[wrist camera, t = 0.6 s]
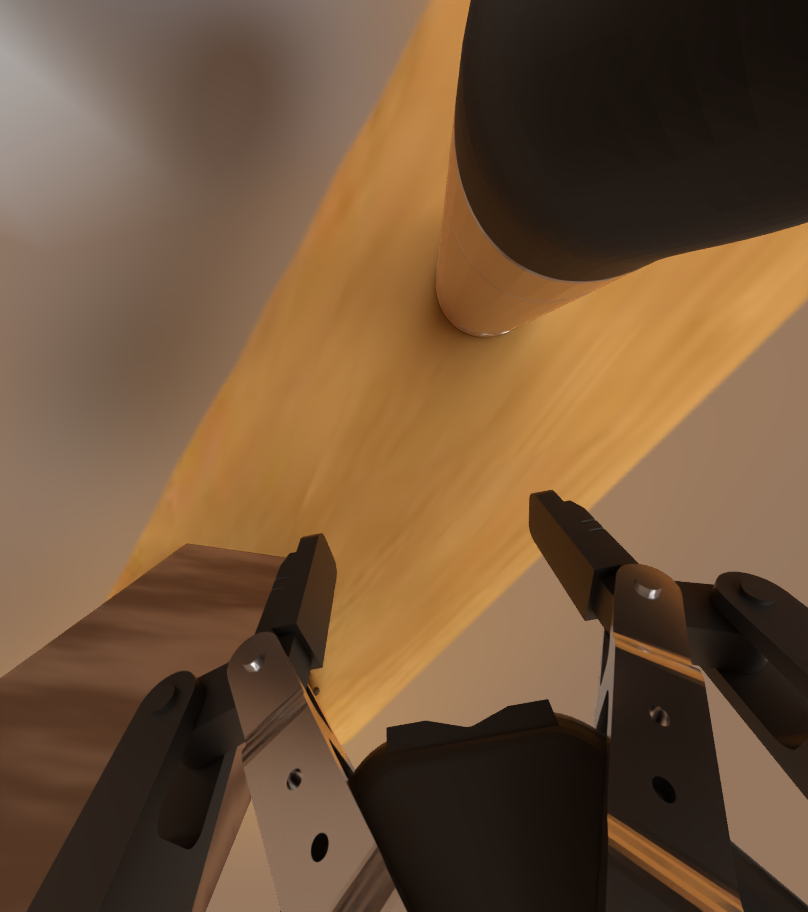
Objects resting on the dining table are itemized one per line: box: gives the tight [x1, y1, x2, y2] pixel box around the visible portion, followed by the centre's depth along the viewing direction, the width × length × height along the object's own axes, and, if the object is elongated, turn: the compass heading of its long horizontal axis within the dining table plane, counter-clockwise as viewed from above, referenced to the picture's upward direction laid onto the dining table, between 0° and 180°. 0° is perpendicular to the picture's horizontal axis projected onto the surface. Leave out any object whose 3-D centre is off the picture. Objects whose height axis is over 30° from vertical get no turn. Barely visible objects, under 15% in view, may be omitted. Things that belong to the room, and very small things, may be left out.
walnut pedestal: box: [0, 544, 286, 912], centre depth 21 cm, size 12×16×32 cm
